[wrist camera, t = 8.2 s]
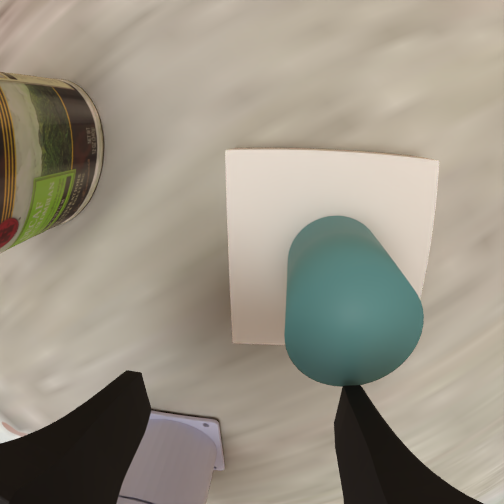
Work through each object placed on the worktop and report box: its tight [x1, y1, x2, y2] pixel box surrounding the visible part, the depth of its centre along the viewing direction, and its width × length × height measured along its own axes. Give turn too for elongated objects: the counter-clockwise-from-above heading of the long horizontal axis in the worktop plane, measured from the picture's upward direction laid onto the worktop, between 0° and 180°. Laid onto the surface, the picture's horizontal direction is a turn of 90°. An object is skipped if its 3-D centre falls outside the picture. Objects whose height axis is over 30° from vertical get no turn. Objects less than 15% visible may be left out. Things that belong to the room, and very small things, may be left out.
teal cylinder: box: [284, 216, 424, 386], centre depth 12 cm, size 4×4×6 cm
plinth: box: [225, 148, 439, 345], centre depth 16 cm, size 10×10×3 cm
